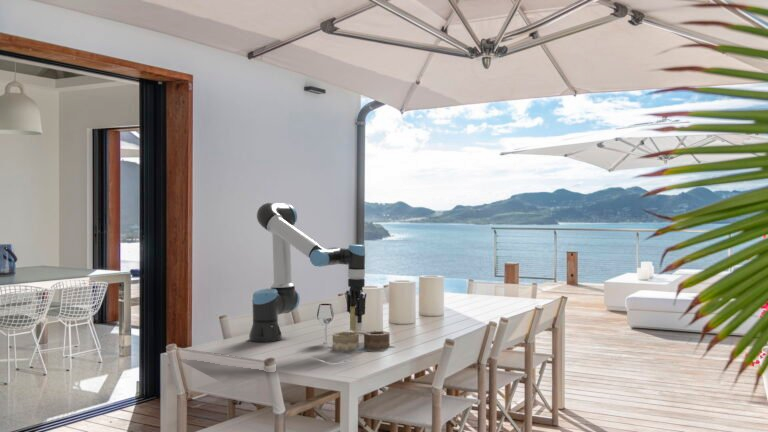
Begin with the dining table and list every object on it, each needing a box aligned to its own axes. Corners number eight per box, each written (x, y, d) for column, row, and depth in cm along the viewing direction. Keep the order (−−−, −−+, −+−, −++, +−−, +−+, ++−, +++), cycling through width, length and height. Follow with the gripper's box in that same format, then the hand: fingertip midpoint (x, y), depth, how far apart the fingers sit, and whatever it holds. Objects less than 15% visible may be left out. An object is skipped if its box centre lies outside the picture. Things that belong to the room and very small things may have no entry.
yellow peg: (354, 331, 304) (354, 307, 304) (349, 330, 307) (350, 306, 307) (361, 330, 306) (361, 306, 306) (356, 329, 309) (357, 305, 309)
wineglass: (320, 346, 298) (320, 306, 298) (314, 343, 305) (313, 304, 305) (337, 344, 302) (337, 304, 302) (330, 341, 309) (330, 302, 309)
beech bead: (341, 351, 284) (341, 337, 283) (328, 347, 292) (328, 333, 292) (362, 348, 290) (362, 334, 290) (349, 344, 298) (349, 331, 298)
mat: (350, 355, 278) (350, 354, 278) (327, 348, 293) (327, 347, 293) (396, 348, 292) (396, 347, 292) (372, 342, 307) (372, 340, 307)
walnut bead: (374, 350, 286) (373, 336, 286) (360, 346, 295) (360, 332, 295) (393, 347, 292) (393, 333, 292) (379, 343, 301) (379, 330, 301)
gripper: (373, 279, 302) (372, 331, 302) (353, 276, 315) (352, 325, 316) (359, 280, 297) (359, 332, 298) (339, 276, 311) (338, 326, 311)
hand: (355, 328), depth 307 cm, fingers closed on yellow peg, 4 cm apart
